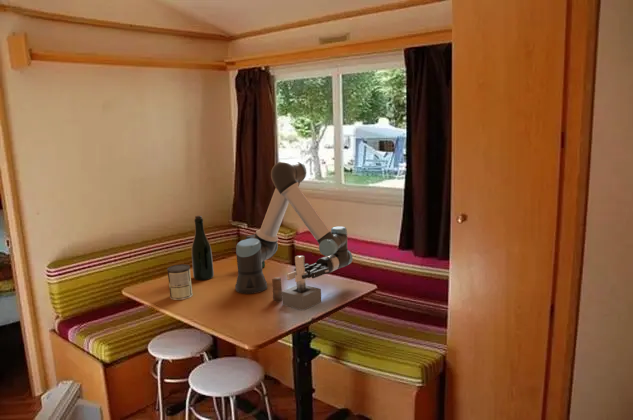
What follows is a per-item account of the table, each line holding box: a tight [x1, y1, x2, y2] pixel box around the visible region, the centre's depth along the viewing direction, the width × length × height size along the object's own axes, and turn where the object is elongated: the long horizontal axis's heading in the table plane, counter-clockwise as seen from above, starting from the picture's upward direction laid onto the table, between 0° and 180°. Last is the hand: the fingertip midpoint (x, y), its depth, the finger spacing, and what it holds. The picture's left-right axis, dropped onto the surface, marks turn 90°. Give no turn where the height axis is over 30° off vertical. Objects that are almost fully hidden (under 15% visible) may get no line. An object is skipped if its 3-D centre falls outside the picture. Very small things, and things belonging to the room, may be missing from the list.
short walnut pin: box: [271, 276, 283, 303], centre depth 223 cm, size 4×4×10 cm
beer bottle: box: [191, 215, 215, 281], centre depth 259 cm, size 10×10×33 cm
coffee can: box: [166, 263, 194, 301], centre depth 233 cm, size 10×10×14 cm
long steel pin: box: [294, 255, 307, 293], centre depth 216 cm, size 4×4×20 cm
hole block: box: [282, 284, 322, 311], centre depth 217 cm, size 12×12×6 cm
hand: (292, 277), depth 212 cm, fingers closed on long steel pin, 4 cm apart
